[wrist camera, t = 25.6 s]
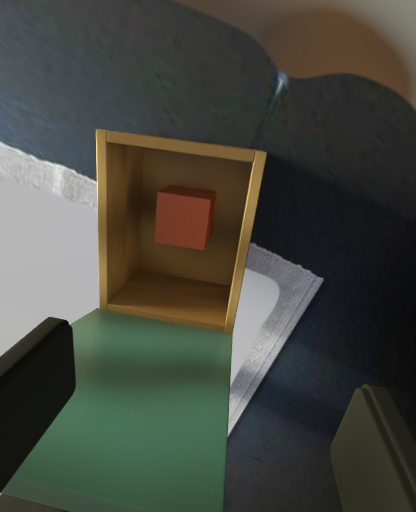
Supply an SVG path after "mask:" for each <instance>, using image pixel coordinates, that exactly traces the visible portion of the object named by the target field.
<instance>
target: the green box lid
mask: <svg viewBox="0 0 416 512" xmlns="http://www.w3.org/2000/svg"><path fill="white" fill-rule="evenodd" d="M70 326H72V329H73V343H74V359H75V375H76V388H75V391H74V393H73V395H72V397H71V398H70V399H69V401H68V402H67V403H66V405H65V406H64V407H63V409H62V410H61V412H60V413H59V414H58V416H57V417H56V418H55V420H54V421H53V422H52V424H51V425H50V427H49V428H48V429H47V431H46V432H45V433H44V435H43V436H42V437H41V439H40V440H39V441H38V443H37V444H36V446H35V447H34V448H33V450H32V451H31V452H30V454H29V455H28V456H27V458H26V459H25V461H24V462H23V463H22V465H21V466H20V467H19V469H18V470H17V471H16V473H15V474H14V475H13V477H12V478H11V480H10V481H9V482H8V484H7V485H6V486H5V488H4V489H3V490H2V492H1V493H0V512H224V494H225V474H226V454H227V434H228V415H229V395H230V374H231V355H232V336H233V335H232V334H229V333H224V332H219V331H214V330H208V329H203V328H198V327H193V326H188V325H182V324H177V323H172V322H167V321H161V320H156V319H151V318H146V317H141V316H135V315H130V314H125V313H120V312H115V311H109V310H104V309H99V308H97V309H95V310H94V311H92V312H90V313H89V314H87V315H85V316H84V317H82V318H81V319H79V320H77V321H75V322H74V323H72V324H70Z"/></svg>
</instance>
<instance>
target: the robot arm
mask: <svg viewBox="0 0 416 512" xmlns="http://www.w3.org/2000/svg"><path fill="white" fill-rule="evenodd" d="M75 388H76V375H75V359H74V343H73V329H72V326H70V325H69V322H68V321H67V320H63V319H59V318H54V317H48V318H47V319H45V320H44V321H43V322H42V323H40V324H39V325H38V326H37V327H36V328H34V329H33V330H32V331H31V332H30V333H28V334H27V335H26V336H25V337H24V338H22V339H21V340H20V341H19V342H17V343H16V344H15V345H14V346H13V347H11V348H10V349H9V350H8V351H7V352H5V353H4V354H3V355H2V356H1V357H0V493H1V492H2V490H3V489H4V488H5V486H6V485H7V484H8V482H9V481H10V480H11V478H12V477H13V475H14V474H15V473H16V471H17V470H18V469H19V467H20V466H21V465H22V463H23V462H24V461H25V459H26V458H27V456H28V455H29V454H30V452H31V451H32V450H33V448H34V447H35V446H36V444H37V443H38V441H39V440H40V439H41V437H42V436H43V435H44V433H45V432H46V431H47V429H48V428H49V427H50V425H51V424H52V422H53V421H54V420H55V418H56V417H57V416H58V414H59V413H60V412H61V410H62V409H63V407H64V406H65V405H66V403H67V402H68V401H69V399H70V398H71V397H72V395H73V393H74V391H75ZM330 454H331V461H332V465H333V469H334V473H335V478H336V482H337V486H338V491H339V495H340V499H341V503H342V508H343V512H416V443H415V441H414V439H413V437H412V435H411V433H410V431H409V430H408V428H407V426H406V424H405V422H404V420H403V418H402V416H401V414H400V413H399V411H398V409H397V407H396V405H395V403H394V401H393V399H392V397H391V396H390V394H389V392H388V391H387V390H386V389H385V388H381V387H376V386H371V385H367V384H364V385H363V386H362V387H361V388H357V389H356V390H355V392H354V394H353V397H352V399H351V401H350V403H349V406H348V408H347V410H346V413H345V415H344V417H343V419H342V422H341V424H340V426H339V429H338V431H337V433H336V436H335V438H334V440H333V442H332V445H331V451H330Z"/></svg>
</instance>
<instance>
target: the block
mask: <svg viewBox="0 0 416 512" xmlns="http://www.w3.org/2000/svg"><path fill="white" fill-rule="evenodd" d="M216 193H217V192H216V191H209V190H203V189H196V188H189V187H183V186H176V185H170V186H168V187H166V188H164V189H162V190H160V191H158V192H157V207H156V224H155V241H154V242H156V243H162V244H168V245H174V246H180V247H186V248H192V249H198V250H204V249H205V247H206V245H207V243H208V240H209V238H210V236H211V230H212V222H213V215H214V208H215V200H216Z"/></svg>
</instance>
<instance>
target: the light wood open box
mask: <svg viewBox="0 0 416 512" xmlns="http://www.w3.org/2000/svg"><path fill="white" fill-rule="evenodd" d="M96 150H97V201H98V252H99V304H100V309H104V310H109V311H115V312H120V313H125V314H130V315H135V316H141V317H146V318H151V319H156V320H161V321H167V322H172V323H177V324H182V325H188V326H193V327H198V328H203V329H208V330H214V331H219V332H224V333H229V334H232V333H233V328H234V322H235V318H236V312H237V307H238V301H239V296H240V291H241V286H242V281H243V275H244V270H245V265H246V260H247V255H248V249H249V244H250V239H251V234H252V228H253V223H254V218H255V213H256V207H257V202H258V197H259V192H260V186H261V181H262V176H263V170H264V165H265V160H266V155H267V153H266V152H264V151H262V150H254V149H247V148H240V147H232V146H225V145H218V144H210V143H203V142H196V141H188V140H181V139H173V138H166V137H159V136H151V135H144V134H136V133H127V132H117V131H108V130H99V129H97V130H96ZM170 185H176V186H183V187H189V188H196V189H203V190H209V191H216V192H217V193H216V200H215V208H214V215H213V222H212V230H211V236H210V238H209V240H208V243H207V245H206V247H205V249H204V250H198V249H192V248H186V247H180V246H174V245H168V244H162V243H156V242H154V241H155V224H156V207H157V192H158V191H160V190H162V189H164V188H166V187H168V186H170Z"/></svg>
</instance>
